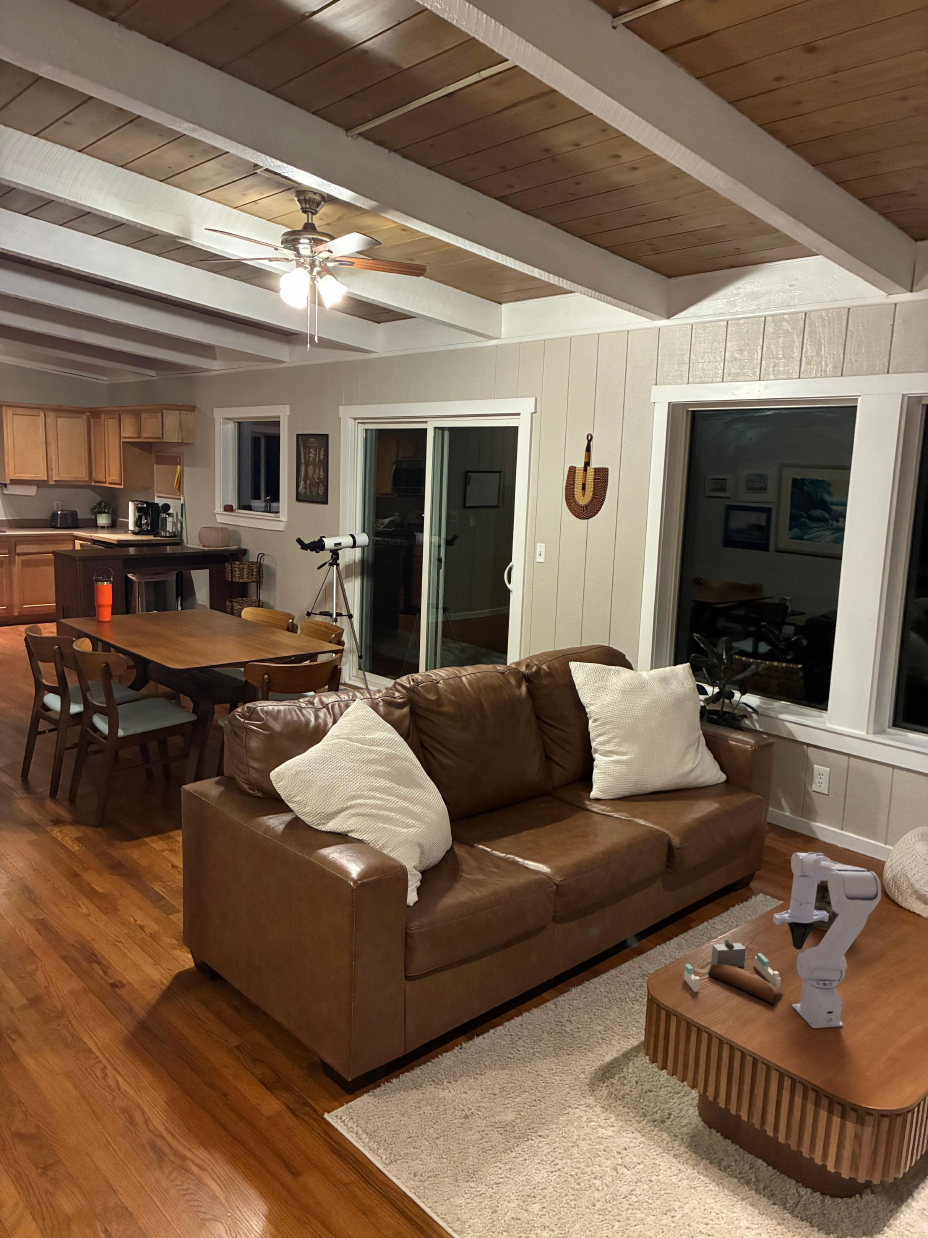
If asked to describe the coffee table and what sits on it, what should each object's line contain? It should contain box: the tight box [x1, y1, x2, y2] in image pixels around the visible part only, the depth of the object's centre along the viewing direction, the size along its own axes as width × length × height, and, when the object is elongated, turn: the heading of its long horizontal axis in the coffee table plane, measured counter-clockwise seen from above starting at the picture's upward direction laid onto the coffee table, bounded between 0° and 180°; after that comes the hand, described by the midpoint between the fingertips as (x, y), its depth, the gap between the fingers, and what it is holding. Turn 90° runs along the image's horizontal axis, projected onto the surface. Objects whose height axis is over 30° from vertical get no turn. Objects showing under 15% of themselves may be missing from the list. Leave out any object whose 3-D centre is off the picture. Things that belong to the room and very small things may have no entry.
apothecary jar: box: [812, 860, 841, 931], centre depth 267 cm, size 12×12×18 cm
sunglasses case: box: [708, 964, 786, 1006], centre depth 232 cm, size 18×7×7 cm
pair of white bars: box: [683, 952, 782, 993], centre depth 235 cm, size 11×23×4 cm, turn 101°
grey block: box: [710, 939, 747, 968], centre depth 242 cm, size 3×8×6 cm, turn 101°
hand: (797, 947), depth 233 cm, fingers closed
